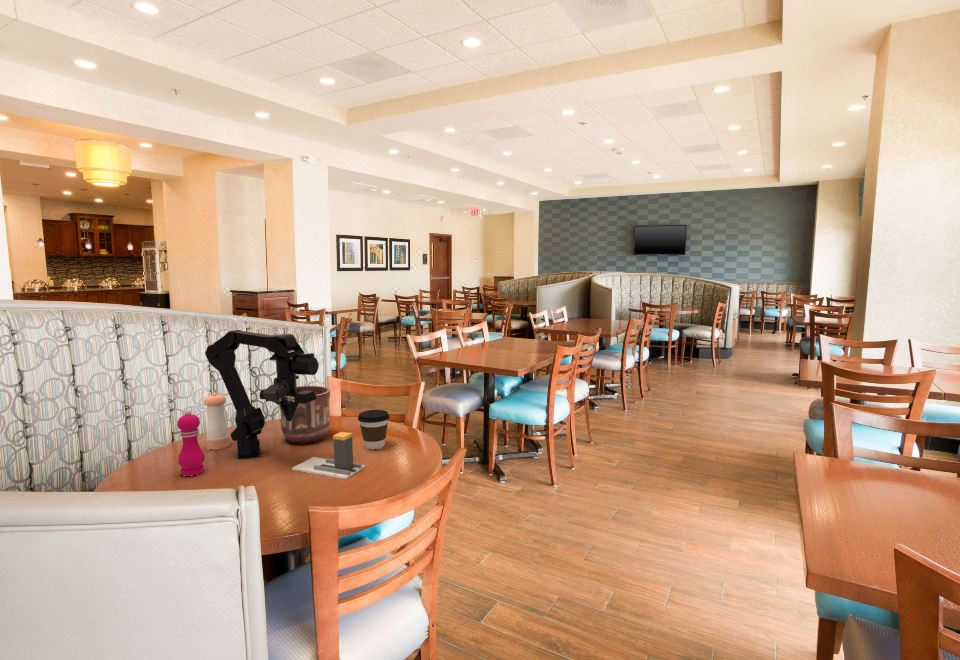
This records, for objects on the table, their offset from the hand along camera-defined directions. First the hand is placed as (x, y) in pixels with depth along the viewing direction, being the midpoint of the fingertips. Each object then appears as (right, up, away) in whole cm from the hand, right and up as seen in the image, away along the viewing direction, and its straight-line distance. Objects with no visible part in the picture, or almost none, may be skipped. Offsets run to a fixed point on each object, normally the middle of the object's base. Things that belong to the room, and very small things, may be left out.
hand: (289, 421), depth 170 cm
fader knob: (+20, -13, -8) cm, 25 cm away
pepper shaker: (-30, -12, +15) cm, 36 cm away
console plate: (+15, -14, -6) cm, 21 cm away
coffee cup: (+25, -12, +13) cm, 30 cm away
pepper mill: (-27, -15, -9) cm, 32 cm away
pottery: (-2, -11, +22) cm, 24 cm away
